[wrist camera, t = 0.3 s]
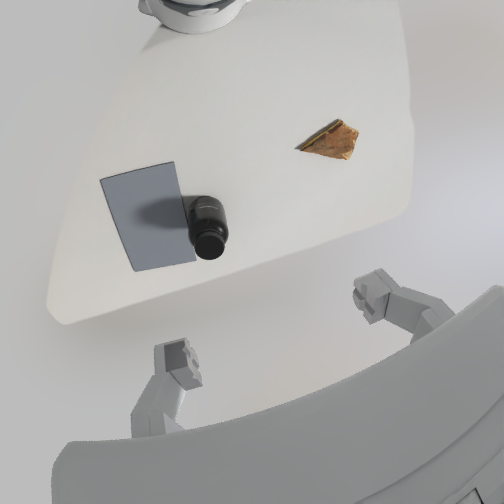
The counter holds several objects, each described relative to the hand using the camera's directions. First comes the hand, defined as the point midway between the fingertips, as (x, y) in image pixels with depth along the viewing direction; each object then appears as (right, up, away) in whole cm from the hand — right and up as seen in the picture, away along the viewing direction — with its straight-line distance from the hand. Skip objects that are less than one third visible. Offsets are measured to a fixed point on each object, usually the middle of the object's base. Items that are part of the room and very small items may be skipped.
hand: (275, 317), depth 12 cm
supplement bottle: (-10, +11, +40) cm, 43 cm away
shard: (+14, +23, +37) cm, 46 cm away
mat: (-21, +9, +39) cm, 45 cm away
